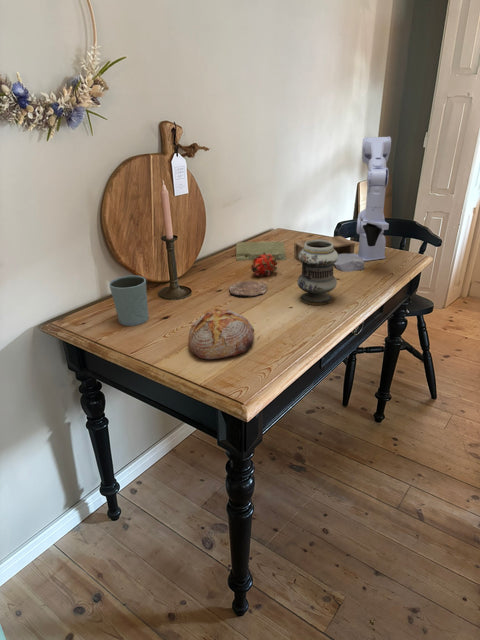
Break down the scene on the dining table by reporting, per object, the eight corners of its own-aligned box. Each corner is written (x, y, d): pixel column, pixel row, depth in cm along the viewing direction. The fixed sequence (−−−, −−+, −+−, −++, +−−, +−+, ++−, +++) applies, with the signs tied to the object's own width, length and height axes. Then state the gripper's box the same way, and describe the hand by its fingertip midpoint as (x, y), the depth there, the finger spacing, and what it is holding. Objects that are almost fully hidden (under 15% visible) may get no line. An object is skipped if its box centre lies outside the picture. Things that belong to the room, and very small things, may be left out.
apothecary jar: (314, 310, 140) (316, 251, 133) (289, 297, 149) (289, 242, 142) (344, 300, 146) (347, 243, 138) (317, 289, 155) (320, 235, 148)
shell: (266, 299, 150) (266, 288, 148) (226, 299, 151) (226, 288, 150) (267, 286, 160) (267, 276, 159) (230, 285, 162) (230, 276, 160)
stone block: (341, 277, 170) (367, 269, 171) (339, 265, 168) (365, 257, 169) (329, 268, 181) (353, 260, 181) (327, 256, 179) (352, 249, 179)
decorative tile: (236, 249, 201) (236, 240, 199) (283, 247, 200) (283, 239, 199) (234, 262, 184) (234, 254, 183) (286, 261, 183) (286, 253, 182)
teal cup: (155, 321, 136) (150, 282, 131) (121, 330, 132) (115, 290, 127) (143, 309, 144) (138, 272, 139) (111, 317, 140) (104, 279, 135)
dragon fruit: (277, 274, 174) (255, 288, 167) (262, 258, 176) (240, 271, 169) (286, 260, 167) (264, 273, 160) (270, 243, 169) (247, 256, 162)
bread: (176, 360, 118) (170, 324, 114) (211, 327, 134) (207, 294, 130) (235, 368, 112) (231, 330, 108) (265, 333, 128) (262, 298, 124)
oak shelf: (338, 251, 191) (339, 235, 188) (354, 259, 181) (355, 243, 179) (293, 257, 186) (294, 241, 183) (306, 266, 176) (307, 249, 173)
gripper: (352, 203, 163) (350, 241, 169) (377, 211, 150) (373, 252, 156) (370, 201, 165) (367, 239, 171) (395, 209, 152) (391, 250, 158)
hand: (371, 245), depth 163 cm, fingers closed
